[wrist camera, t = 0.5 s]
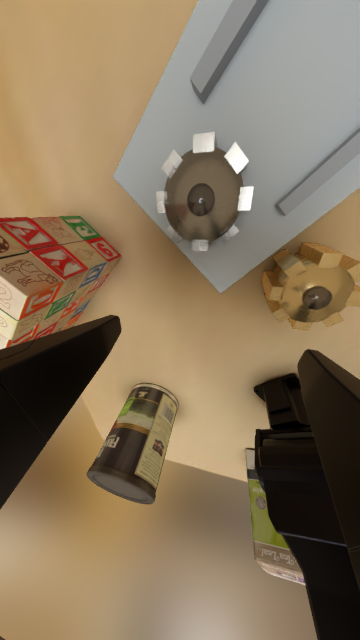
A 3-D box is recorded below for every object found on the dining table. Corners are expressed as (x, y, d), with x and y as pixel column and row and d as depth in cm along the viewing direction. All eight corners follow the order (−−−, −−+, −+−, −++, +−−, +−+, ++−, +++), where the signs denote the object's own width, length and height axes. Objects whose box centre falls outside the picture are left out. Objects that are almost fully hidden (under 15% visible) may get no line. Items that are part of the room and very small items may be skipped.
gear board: (452, 109, 11) (507, 85, 9) (220, 289, 20) (219, 299, 18) (328, -231, 7) (369, -413, 5) (119, 179, 17) (103, 174, 15)
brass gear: (351, 280, 17) (391, 304, 13) (283, 317, 20) (297, 345, 16) (314, 226, 15) (347, 232, 11) (248, 275, 19) (254, 295, 15)
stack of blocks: (65, 337, 32) (-9, 397, 22) (35, 315, 31) (-59, 367, 21) (123, 255, 21) (25, 298, 11) (79, 213, 20) (-80, 218, 9)
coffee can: (124, 396, 38) (79, 478, 27) (144, 375, 32) (97, 467, 21) (163, 419, 40) (136, 506, 28) (188, 403, 34) (167, 503, 22)
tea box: (252, 468, 42) (262, 573, 30) (244, 446, 38) (251, 559, 26) (329, 477, 36) (380, 613, 24) (330, 453, 32) (392, 604, 20)
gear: (268, 199, 14) (276, 197, 12) (202, 261, 18) (198, 270, 15) (208, 115, 12) (203, 92, 10) (150, 203, 16) (136, 203, 14)
